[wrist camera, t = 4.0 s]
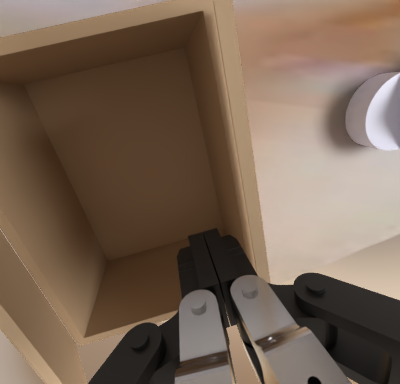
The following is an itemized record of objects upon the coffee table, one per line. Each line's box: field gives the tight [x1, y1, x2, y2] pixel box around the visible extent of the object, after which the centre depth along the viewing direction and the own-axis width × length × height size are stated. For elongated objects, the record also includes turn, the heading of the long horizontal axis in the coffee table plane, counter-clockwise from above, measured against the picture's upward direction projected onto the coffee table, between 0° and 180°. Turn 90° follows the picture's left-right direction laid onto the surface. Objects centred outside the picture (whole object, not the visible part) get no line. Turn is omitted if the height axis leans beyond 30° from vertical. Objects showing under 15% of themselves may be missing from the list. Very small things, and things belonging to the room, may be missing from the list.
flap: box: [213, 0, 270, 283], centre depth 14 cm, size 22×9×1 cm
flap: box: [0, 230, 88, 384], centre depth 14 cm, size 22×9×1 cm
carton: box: [0, 0, 257, 346], centre depth 23 cm, size 24×18×12 cm
